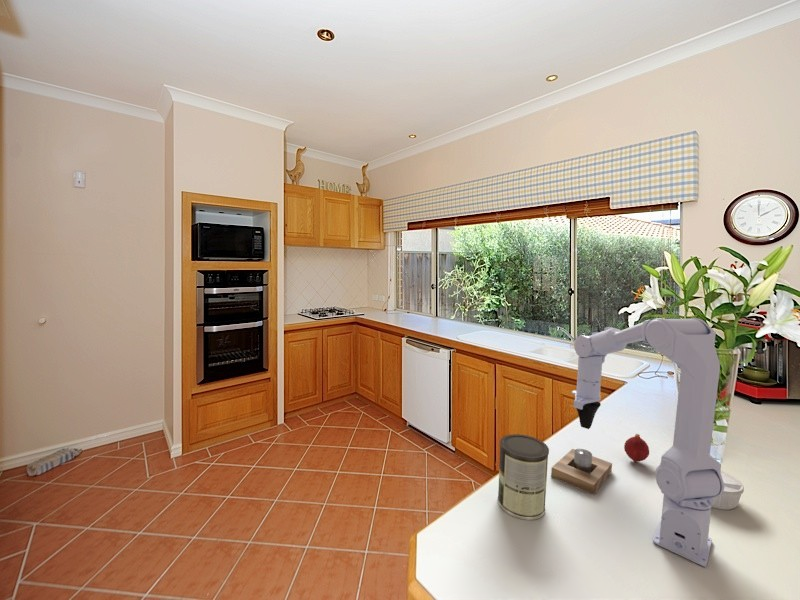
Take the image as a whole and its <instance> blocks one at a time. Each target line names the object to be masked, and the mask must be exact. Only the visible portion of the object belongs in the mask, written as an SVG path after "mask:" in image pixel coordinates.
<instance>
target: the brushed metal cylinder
mask: <svg viewBox="0 0 800 600" xmlns="http://www.w3.org/2000/svg"><path fill="white" fill-rule="evenodd" d="M592 456H593V453H592V452H591V451H589V450H587V449H584V448H576V449H575V455H574V468H576V469H579V470H581V471H584V472H586V473H589V474H591V464H592Z"/></svg>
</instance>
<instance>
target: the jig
mask: <svg viewBox="0 0 800 600" xmlns="http://www.w3.org/2000/svg"><path fill="white" fill-rule="evenodd" d="M575 450H576V449H574V448H572V449H570V450H569V451H568V452H567V453H566V454H565V455H564V456H563V457H562V458H560V459H559V460H558V461H557V462H556V463H555V464H553V465H552V467H551V473H550V477H552V478H554V479H556V480H557V481H558V480H559V481H561V482H563V483H565V484H568V485H569V486H571V487H573V488H577V489H579V490H580V491H583V492H586V493H588V494H590V495H592V496H593V495H595V494H596V492H597V491H598V490H599V489H600V487H601V486H602V485H603V484H604V482H605V481H606V480H607V479H608V477H609V476H610V475H611V473H612V468H613V463H612V462H611V461H607V460H604V459H601V458H598V457H597V456H593V455H592V464H591V474H589V473H586V472H584V471H581V470H579V469H576V468H574V455H575Z"/></svg>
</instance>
